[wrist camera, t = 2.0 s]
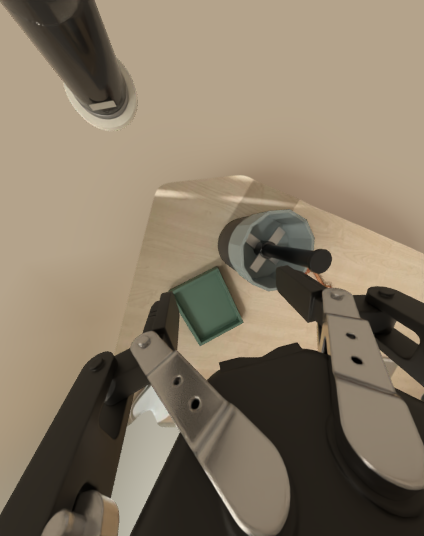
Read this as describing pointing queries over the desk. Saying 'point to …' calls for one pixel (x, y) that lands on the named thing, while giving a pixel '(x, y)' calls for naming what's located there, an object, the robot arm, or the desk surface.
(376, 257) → the desk surface
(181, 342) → the desk surface
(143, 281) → the desk surface
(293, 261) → the blade
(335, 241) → the desk surface
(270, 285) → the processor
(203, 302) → the tray
